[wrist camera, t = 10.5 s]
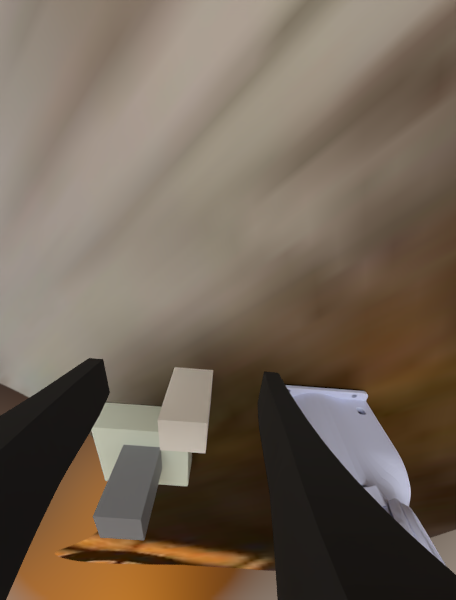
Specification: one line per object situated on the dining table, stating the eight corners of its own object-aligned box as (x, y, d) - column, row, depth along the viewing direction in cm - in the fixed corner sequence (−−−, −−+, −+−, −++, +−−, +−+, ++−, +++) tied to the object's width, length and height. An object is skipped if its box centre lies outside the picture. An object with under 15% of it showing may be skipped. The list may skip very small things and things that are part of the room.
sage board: (192, 408, 26) (188, 434, 24) (191, 460, 31) (187, 486, 28) (105, 402, 26) (90, 427, 23) (116, 454, 31) (105, 480, 28)
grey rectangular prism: (160, 447, 25) (140, 519, 19) (162, 468, 26) (144, 540, 21) (123, 444, 25) (92, 516, 19) (127, 466, 26) (100, 537, 21)
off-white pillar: (213, 370, 24) (207, 423, 18) (211, 397, 26) (205, 453, 20) (174, 367, 24) (157, 419, 18) (175, 394, 25) (159, 450, 20)
